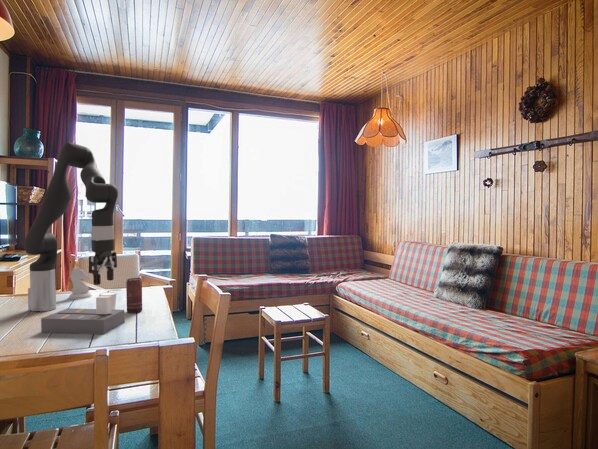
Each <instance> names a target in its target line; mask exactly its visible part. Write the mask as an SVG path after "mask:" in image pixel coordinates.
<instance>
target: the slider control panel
mask: <svg viewBox="0 0 598 449" xmlns="http://www.w3.org/2000/svg"><path fill="white" fill-rule="evenodd" d="M124 323H125V309H115V310H114V309H111V313H109V314H107V315H101V314H96V308H69V307H68V308H65V309H62V310H60V311H59V310H58V311H57V312H54V313H52V314H49V315H47V316H44V317H41V318H40V328H41V329H40V330H41V331H40V332H41V333H45V332H51V334H79V335H80V334H84V335H85V334H86V335H87V334H88V335H105V334H106V333H109V332H110V331H112V330H115V329H116V328H117V327H120V326H121V325H123V324H124Z"/></svg>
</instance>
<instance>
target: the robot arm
mask: <svg viewBox="0 0 598 449" xmlns="http://www.w3.org/2000/svg"><path fill="white" fill-rule="evenodd" d="M68 166H69V167H74V168H76V169H81V171H80V179H81V181H82V183H83V185H84V186H85V198H86V200H87V201H89V202H90V203H93V204H94V203H95V204H100V203H102V204H105V205H104V207H102V208H98V209H94V210H92V212H91V229H90V230H91V232H90V237H91V238H90V239H91V240H90V241H91V243H90V244H91V252H93V253H94V255H91V256H89V257H88V274H91V275H93V277H92V278H93V280H92V281H93V285H95V286H99V285H101V284H102V283H101V282H102V281H101V280H102V279H101V272H102V270H103V269H104V268H106V280H107V281H113V280H114V278H115V277H114V274H115V273H114V270H115V269H116V268H118V259H117V258H118V257H117V256H118V255H117V252H116V251H115V229H114V213H115V212H114V211H115V207H116V203H117V201H118V197H119V191H118V188H117V186H116V185H115V184H113V183H106V179H105V178H104V177H103V174H102V172H100V170H99V168H98V165H97V162H96V159H95V156H94V153H93V152H92V149H91V148H88V147H86V146H83V145H80V144H77V143H74V142H69V141H66V142H64V143H63V144H62V147H61V148H60V151H59V154H58V157H57V161H56V164H55V167H54V171H53V174H52V176H51V179H50V181H49V184H48V186H47V189H46V191H45V193H44V196H43V199H42V201H41V205H40V207H39V210H38V212H37V214H36V216H35V219H34V221H33V223H32V225H31V227H30V229H28V232H27V233H26V237H25V239H24V240H23V241H24V242H23V247H24V248H23V249H24V252H26V254H27V255H30V256H31V255H33V256H36V255H37V256H38V255H39V257H38V258H37V260H34V261H32V262H31V263H30V264H29V286H30V287H28V289H27V304H28V305H27V307H28V308H27V310H28V311H30V310H31V312H34V311H40V312H48V311H52V310H55V309H56V308H57V300H56V299H57V295H56V292H57V291H56V288H57V287H56V265H57V261H58V239H57V237H56V235H55V234H54V233H52V232H48V230H49V229H50V228H51V226H53V224H54V223H56V221H57V220H59V219H60V218H61V217H62V216H63V215H64V214H65V213H66V211H67V210H68V207H69V205H70V202H71V199H72V194H71V188H70V186H69V182H68V180H67V169H68ZM114 251H115V252H114Z"/></svg>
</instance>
